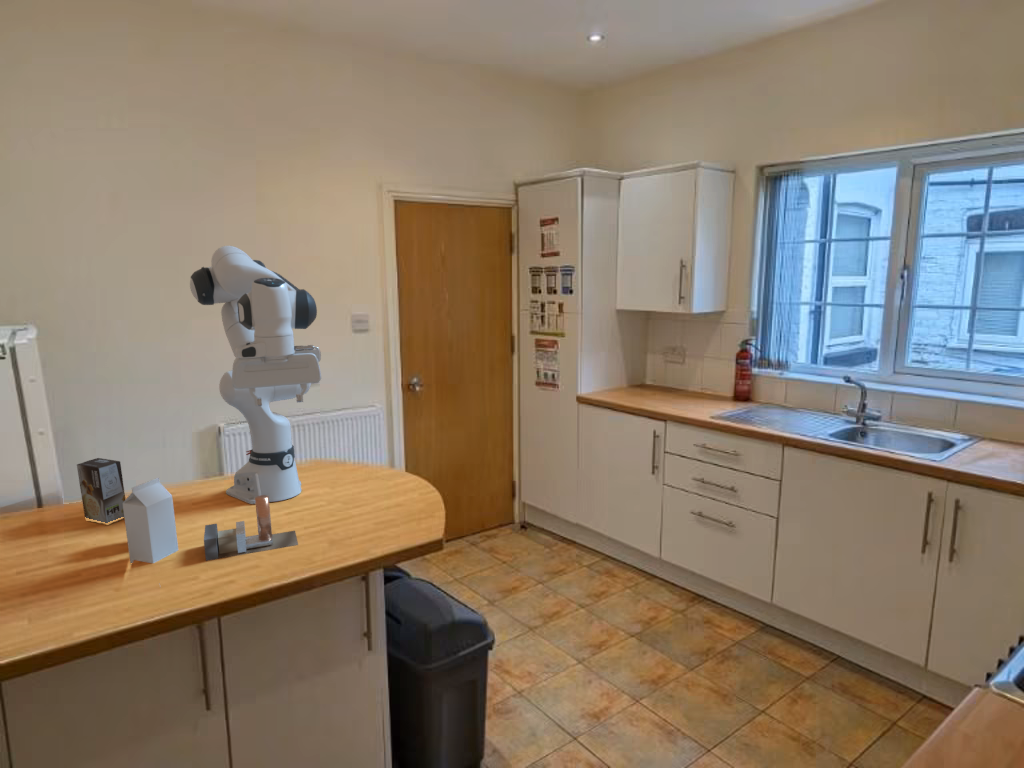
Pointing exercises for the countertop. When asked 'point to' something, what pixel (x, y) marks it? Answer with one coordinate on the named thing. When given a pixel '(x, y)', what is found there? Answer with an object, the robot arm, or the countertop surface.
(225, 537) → the block
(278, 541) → the base
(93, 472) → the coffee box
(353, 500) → the countertop surface
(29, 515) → the countertop surface
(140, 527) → the milk carton
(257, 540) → the press handle
